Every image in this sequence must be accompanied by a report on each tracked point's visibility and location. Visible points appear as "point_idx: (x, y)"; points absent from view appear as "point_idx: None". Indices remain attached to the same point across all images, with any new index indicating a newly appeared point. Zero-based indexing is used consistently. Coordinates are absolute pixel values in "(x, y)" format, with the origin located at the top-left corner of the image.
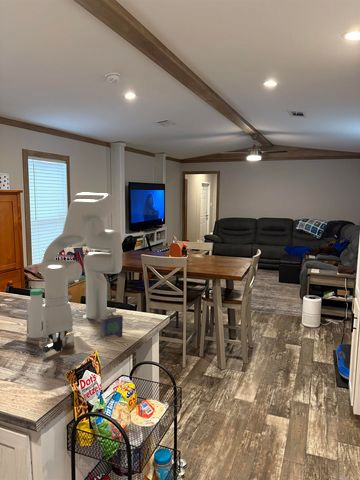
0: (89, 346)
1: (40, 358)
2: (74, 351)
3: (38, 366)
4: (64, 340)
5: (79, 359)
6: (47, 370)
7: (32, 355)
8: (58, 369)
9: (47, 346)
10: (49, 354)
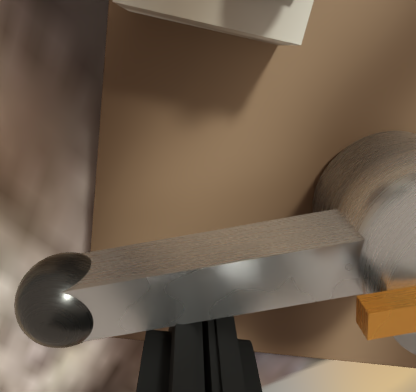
0: None
1: (71, 153)
2: (336, 318)
3: (7, 276)
4: (359, 292)
5: (301, 357)
6: (49, 359)
7: (16, 13)
8: (117, 385)
9: (69, 343)
10: (135, 234)
